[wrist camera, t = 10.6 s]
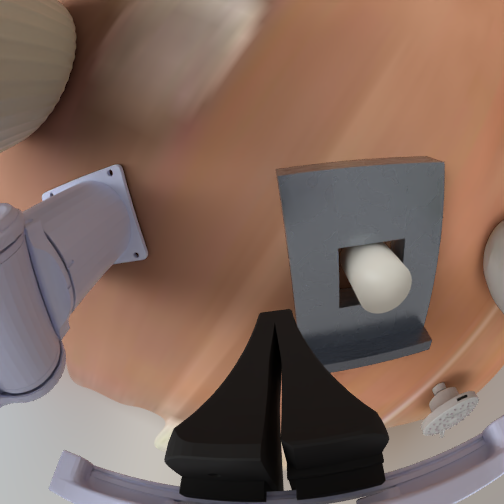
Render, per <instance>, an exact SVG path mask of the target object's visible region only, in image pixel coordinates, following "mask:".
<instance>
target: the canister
mask: <svg viewBox="0 0 504 504" xmlns="http://www.w3.org/2000/svg"><path fill="white" fill-rule="evenodd" d="M75 29H76V28H75V24H74V23H73V18H72V16H71V15H70V13H69V12H68V10H67V8H66V7H65V6H64V5H62V4H61V3H60V2H59V1H57V0H0V153H1V152H3V151H5V150H7V149H9V148H11V147H12V146H14V145H16V144H18V143H19V142H21V141H23V140H25V139H26V138H27V137H29V136H30V135H31V134H32V133H33V132H35V131H36V130H37V129H38V128H39V127H40V125H41V124H42V123H44V122H45V121H46V119H47V117H48V115H49V114H50V113H52V111H53V110H54V107H55V105H56V104H57V103H58V102H59V100H60V96H61V94H62V93H63V92H64V90H65V85H66V83H67V81H68V80H69V75H70V72H71V70H72V68H73V67H72V65H73V61H74V59H75V49H76V47H77V46H76V38H77V36H76V33H75Z"/></svg>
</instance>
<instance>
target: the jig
mask: <svg viewBox="0 0 504 504" xmlns="http://www.w3.org/2000/svg"><path fill="white" fill-rule="evenodd" d="M276 175H277V181H278V187H279V194H280V200H281V207H282V214H283V220H284V227H285V234H286V242H287V249H288V257H289V264H290V272H291V280H292V288H293V297H294V306H295V314H296V324H297V326H298V328H299V330H300V332H301V334H302V336H303V337H304V339H305V341H306V342H307V344H308V346H309V347H310V349H311V350H312V351H313V353H314V354H315V356H316V357H317V358H318V360H319V361H320V362H321V363H322V365H323V366H324V367H325V368H326V369H327V370H328V371H329V373H331V372H337V371H342V370H348V369H353V368H358V367H363V366H367V365H372V364H376V363H380V362H385V361H389V360H393V359H397V358H400V357H404V356H408V355H411V354H415V353H418V352H422V351H425V350H428V349H429V348H430V345H431V342H432V339H431V337H430V336H429V334H428V332H427V331H426V329H425V327H424V323H425V319H426V315H427V311H428V307H429V303H430V298H431V294H432V289H433V284H434V279H435V273H436V267H437V261H438V254H439V247H440V239H441V230H442V219H443V205H444V162H442V161H439V160H436V159H433V158H430V157H427V156H425V157H396V158H378V159H364V160H352V161H341V162H331V163H321V164H312V165H304V166H296V167H289V168H282V169H276ZM385 241H391V251H392V252H393V253H394V254H395V255H396V256H397V257H398V258H399V259H400V261H401V262H402V263H403V264H404V265H405V266H406V267H407V269H408V270H409V271H410V274H411V277H412V284H411V288H410V291H409V293H408V295H407V297H406V298H405V299H404V301H403V302H402V303H401V304H400V305H398V306H397V307H396V308H394V309H392V310H390V311H388V312H385V313H379V314H376V313H371V312H368V311H366V310H365V309H364V308H363V307H362V306H361V304H360V302H359V300H358V298H357V296H356V294H355V292H354V290H353V288H352V287H350V288H344V289H339V256H338V248H344V247H351V246H358V245H365V244H371V243H378V242H385Z"/></svg>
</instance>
